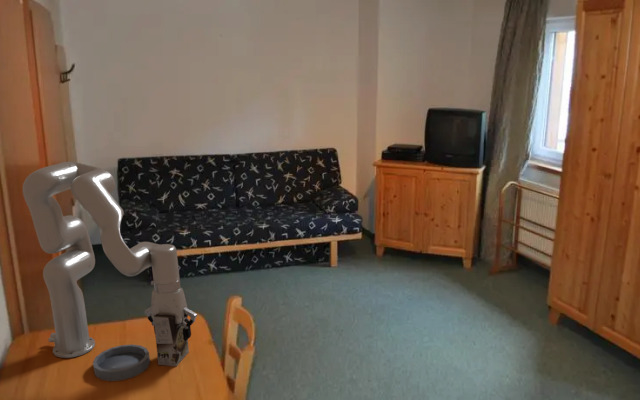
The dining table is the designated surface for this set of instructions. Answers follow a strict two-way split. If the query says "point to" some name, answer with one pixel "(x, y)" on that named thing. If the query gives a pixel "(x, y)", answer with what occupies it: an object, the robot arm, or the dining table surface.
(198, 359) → the dining table surface
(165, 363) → the coffee box
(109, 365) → the bowl
